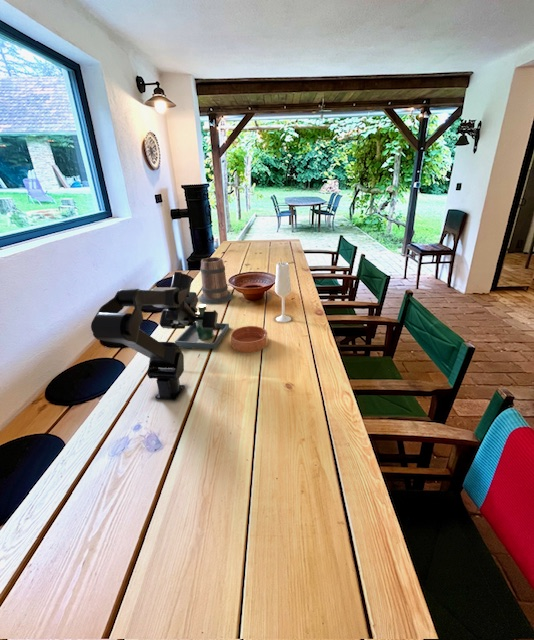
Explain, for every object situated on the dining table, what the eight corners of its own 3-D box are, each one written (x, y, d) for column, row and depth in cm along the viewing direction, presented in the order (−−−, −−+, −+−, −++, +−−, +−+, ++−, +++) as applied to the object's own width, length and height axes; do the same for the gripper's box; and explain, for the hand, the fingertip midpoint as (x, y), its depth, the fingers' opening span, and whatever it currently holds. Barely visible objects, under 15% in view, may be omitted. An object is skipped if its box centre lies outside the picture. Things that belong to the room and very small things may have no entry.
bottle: (215, 338, 122) (211, 307, 117) (199, 341, 120) (195, 309, 115) (212, 332, 127) (208, 301, 122) (197, 335, 126) (192, 304, 120)
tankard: (231, 302, 157) (228, 262, 149) (197, 304, 156) (191, 264, 148) (233, 287, 178) (230, 251, 170) (203, 289, 178) (198, 253, 169)
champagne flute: (293, 317, 139) (293, 262, 129) (288, 323, 134) (287, 266, 124) (279, 314, 142) (278, 261, 132) (273, 320, 136) (271, 265, 126)
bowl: (263, 355, 111) (262, 343, 109) (226, 352, 113) (225, 341, 112) (270, 337, 123) (270, 326, 121) (237, 335, 125) (236, 325, 123)
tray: (215, 350, 115) (214, 344, 114) (175, 347, 118) (174, 341, 117) (229, 329, 131) (228, 323, 129) (194, 327, 133) (193, 321, 132)
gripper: (213, 287, 101) (225, 307, 115) (157, 287, 103) (175, 306, 118) (208, 320, 97) (221, 336, 111) (150, 319, 99) (170, 335, 114)
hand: (197, 327), depth 114 cm, fingers open, 9 cm apart
